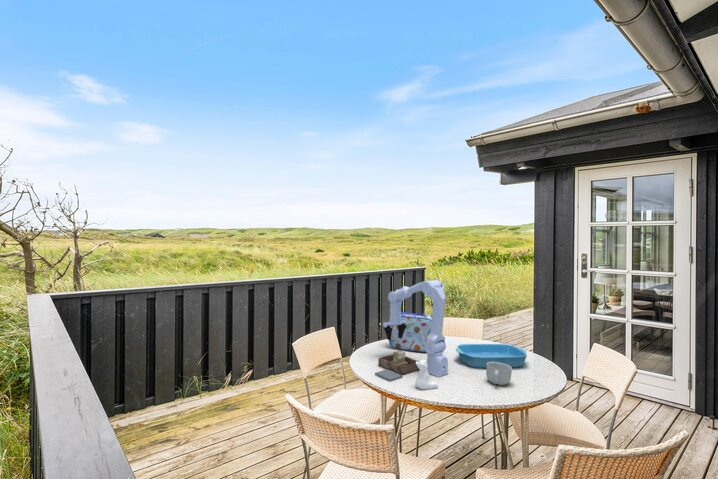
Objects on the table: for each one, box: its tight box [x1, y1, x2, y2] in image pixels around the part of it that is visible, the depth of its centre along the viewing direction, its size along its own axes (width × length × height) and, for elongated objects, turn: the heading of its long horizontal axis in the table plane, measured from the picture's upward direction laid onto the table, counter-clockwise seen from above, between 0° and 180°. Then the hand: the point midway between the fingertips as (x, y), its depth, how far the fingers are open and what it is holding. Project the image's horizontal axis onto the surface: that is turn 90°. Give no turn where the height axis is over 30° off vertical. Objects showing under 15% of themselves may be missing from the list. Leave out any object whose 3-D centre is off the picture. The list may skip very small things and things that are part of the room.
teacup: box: [485, 362, 513, 386], centre depth 166 cm, size 14×11×8 cm
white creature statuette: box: [415, 359, 439, 391], centre depth 160 cm, size 10×9×12 cm
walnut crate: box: [378, 353, 420, 376], centre depth 183 cm, size 16×13×4 cm
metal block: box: [393, 349, 406, 364], centre depth 183 cm, size 4×4×5 cm
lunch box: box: [388, 311, 432, 353], centre depth 214 cm, size 28×10×22 cm, turn 73°
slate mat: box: [374, 369, 403, 383], centre depth 172 cm, size 10×8×1 cm
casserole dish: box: [455, 343, 528, 369], centre depth 195 cm, size 37×22×7 cm, turn 95°
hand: (394, 339), depth 198 cm, fingers open, 7 cm apart
